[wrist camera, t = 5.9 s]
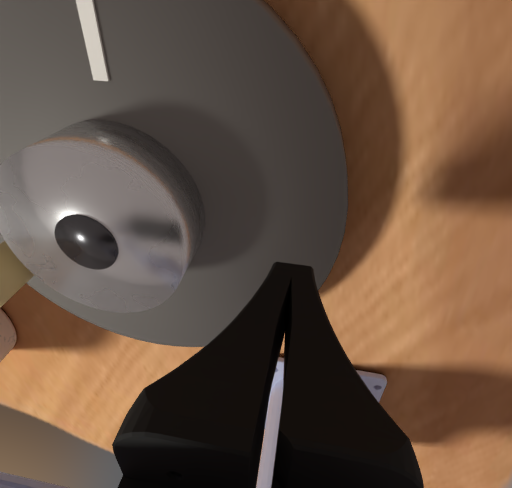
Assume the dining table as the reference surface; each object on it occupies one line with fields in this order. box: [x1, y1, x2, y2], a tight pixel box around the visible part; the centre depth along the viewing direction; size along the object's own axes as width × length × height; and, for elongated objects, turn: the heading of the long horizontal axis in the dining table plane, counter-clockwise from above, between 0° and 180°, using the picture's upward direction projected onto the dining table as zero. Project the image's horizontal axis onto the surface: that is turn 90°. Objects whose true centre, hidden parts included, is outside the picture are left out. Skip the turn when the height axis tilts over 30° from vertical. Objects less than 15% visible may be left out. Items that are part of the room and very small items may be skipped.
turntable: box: [0, 0, 348, 347], centre depth 16 cm, size 20×20×5 cm
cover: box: [0, 120, 205, 313], centre depth 15 cm, size 8×8×3 cm
